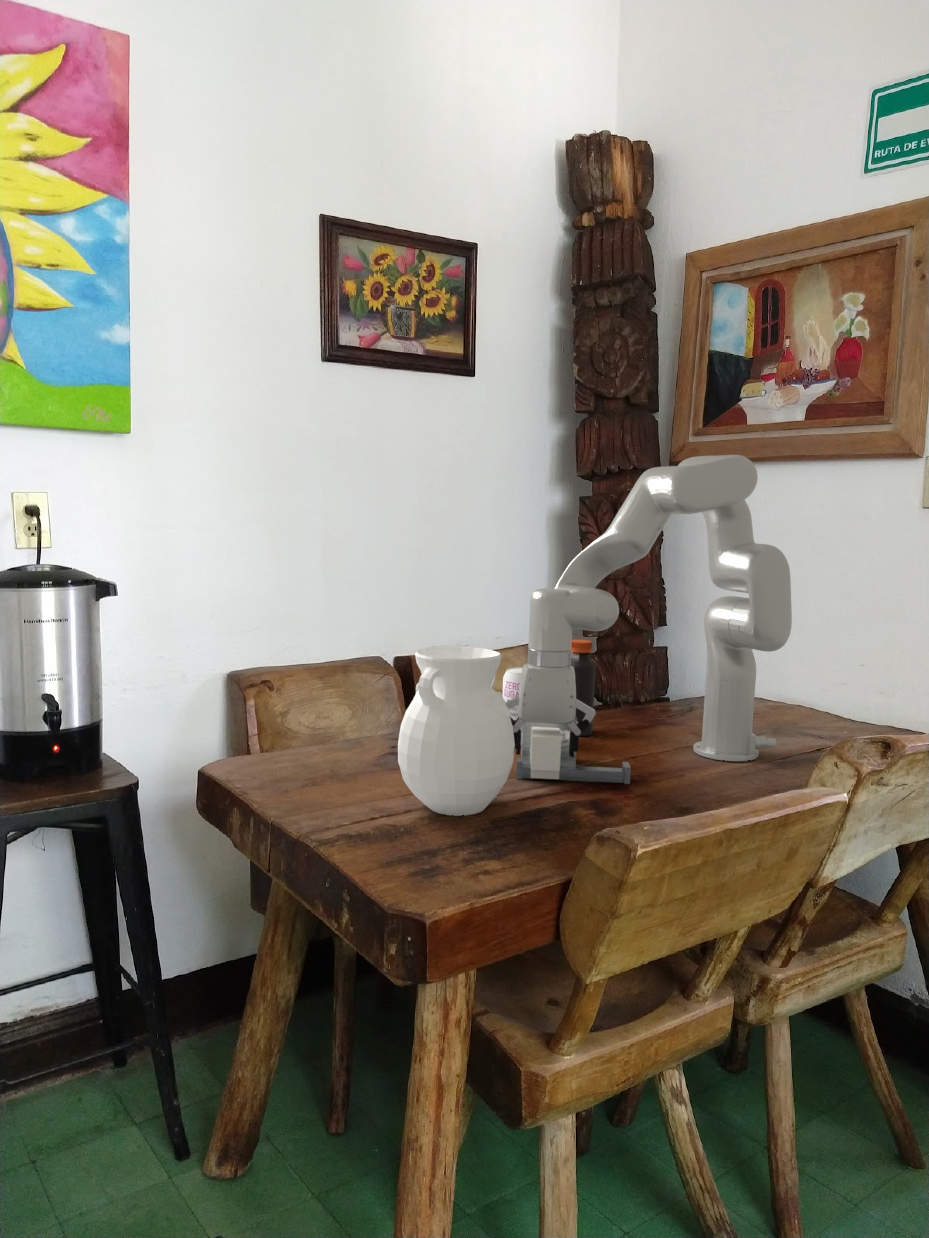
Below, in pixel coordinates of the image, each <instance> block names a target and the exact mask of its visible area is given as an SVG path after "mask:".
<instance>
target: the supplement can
mask: <svg viewBox="0 0 929 1238" xmlns="http://www.w3.org/2000/svg"><path fill="white" fill-rule="evenodd" d="M522 669H523V666H522V667H521V666H517V667H515V666H514V667H508V668H507V669H506V671H505V673H504V675H503V678H502V696H503V699H504V700H505V702H507V701H509V700H511V699H513V698H515V697H517V696H519V687H520V679H521V673H522ZM509 710H510V715H511V716H510V717H511V718H512V719H513V720H514V721H515V720H516V719H517V718H518V717H519V713H518V705H517V706H515V707H513V708H511V709H509ZM520 730H521V747H520V748H522V727H521V728H520Z"/></svg>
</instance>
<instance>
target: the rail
mask: <svg viewBox="0 0 929 1238" xmlns="http://www.w3.org/2000/svg"><path fill="white" fill-rule="evenodd" d="M621 765H622V766H621V767H606V766H605V767H604V766H603V767H602V766H585V765H584V766H583V765H579V766H578V765H576V766H563V765H560V771H559V779H546V781H547V780H551V781H553V780H554V781H571V782H572V781H574V782H575V781H577V782H594V783H612V784H613V783H615V784H616V783H617V784H618V783H619V784H623V785H631V770H632V767H631V765H630V763H629V762H628V761H622V764H621ZM515 766H516V767H515V768H516V769H515V771H516V772H515V779H516V780H523V779H529V780H531V779H533V780H543V779H542V778H531V777H530V776H531V764H523V761H522V757H521V756H520V757H519V756H516V765H515Z"/></svg>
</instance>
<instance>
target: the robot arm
mask: <svg viewBox="0 0 929 1238" xmlns="http://www.w3.org/2000/svg"><path fill="white" fill-rule="evenodd" d="M758 477H759V476H758V471H757V468H756V466H755V464H754V463H753V462H752V461H751V460H750V459H749V458H747V457H746V456H744V455H740V454H723V455H700V456H699V455H698V456H692V457H691V456H690V457H689V458H686V459H684V460H682V461H681V462H679V464H678V465H677V466H676V465H673V466H672V465H671V466H669V465H668V466H657V467H656V466H655V467H651V468H649V469H646V470H645V471H644V472H643V473H642V474H641V475H640V476H639V477H638V479H637V480H636V482H635V484H634V485H633V487H632V489H631V490H630V492H628V495H627V497H626V498H625V500H624V502H623V503H622V504H621V507H620V508H619V510H618V512H617V513H616V514H615V516H614V518H613V520H612V521H611V523H610V525H609V526H608V528H607V529H606V531H604V532H603V534H601V535H599V537H597V538H596V539H595V540H593V541H592V542H591V543H589V544H588V546H586V547H585V548H584V549H583V550H582V551H581V552H579V554H577V555H576V556H575V557H574V558H573V559H572V560H571V562H570V563H569V564H568V565H567V567H566V568H565V570H564V571H563V573H562V575H561V576H560V577H559V579H558V581H557V583H556V585H555V587H553V588H552V587H551V588H545V587H544V588H537V589H534V590H533V592H531V594H530V595H531V596H530V602H529V603H530V604H529V626H528V648H527V663H525V664H523V666H522V667H523V669H522V673H521V679H520V687H519V696H517V697H515V698H513V699H511V700H509V701H507V702H505V703H506V706H507V707H508V709H511V708H513V707H515V706H517V705H518V713H519V717H518V718H517V719H516V720H515V721H514V720H513V719H512V718H511V717H510V719H511V722H512V726H513V733H514V743H515V748H514V750H515V754H516V755H521V748H522V747H521V730H520V728H521V727H522V726H523V725H524V724H525V723H526V722H530V723H549V724H567V725H568V726H569V727H570V729H571V732H570V741H569V755H570V756H571V757H574V752H576V753H577V752H579V739H580V736H579V735H580V733H581V732H582V731H583V730H584V729H586V728H587V727H588V726H589V724H590V722H591V721H592V719H593V720H594V718H595V716H596V714H597V712H596V709H594V707H593V708H591V707H589V706H588V705H586V704H584V703H583V702H581V701H579V700H577V699H576V682H575V671H574V667H573V666H570V665H571V663H572V662H575V661H579V654H575V653H573V652H572V651H571V642H572V640H573V631H574V630H580V631H589V632H600V631H605V630H607V629H609V628H610V627H612V626H613V625H614V624H615V622H616V621H617V620H618V618H619V614H620V607H619V603H618V601H617V599H616V597H615V596H614V595H612V594H611V593H610V592H608V591H606V590H603V589H601V588H596V587H597V586H598V585H599V583H600V582H602V580H604V579H605V578H606V577H607V576H609V575H610V574H612V573H613V572H615V571H617V570H619V569H621V568H623V567H626V566H629V565H630V564H633V563H635V562H637V561H639V560H641V559H643V558H644V557H646V556H647V555H648V553H650V551H651V549H652V547H653V546H654V544H655V543H656V541H657V539H658V537H659V535H660V534H661V533H662V531H663V529H664V527H665V525H666V524H667V522H668V521H669V520H670V517H671V516H672V515H673V514H677V515H692V514H699V513H701V514H702V515H703V518H704V520H705V525H706V535H707V552H708V569H709V577H710V580H711V581H712V583H713V585H714V586H716V587H717V588H719V589H722V590H724V591H725V590H726V591H731V592H737V593H744V594H748V597H744V596H734V595H733V596H731V595H728V596H721V597H719V598H717V599H715V600H713V601H712V602H711V603H710V604H709V605H708V606H707V609H706V611H705V614H704V617H703V618H704V619H703V624H704V625H703V626H704V628H703V629H704V633H705V634H704V635H705V643H706V670H705V671H706V674H705V683H704V684H705V685H704V687H705V688H704V698H703V699H704V701H703V716H702V717H703V718H702V731H701V732H702V734H701V740H700V741H697V742H695V743H694V744H693V752H694V753H695V754H697V755H699V756H701V757H704V758H707V759H712V760H718V761H723V760H724V761H723V762H749V761H748V760H750V761H755V760H756V759H758V758H757V757H759V755H760V753H759V749H760V748H766V749H776V748H777V739H776V737H775V738H773V737H772V738H771V737H770V738H769V737H767V736H763V735H762V736H757V735H756V734H755V733H754V732H753V724H754V723H753V722H754V711H755V710H754V709H755V708H754V707H755V694H756V680H757V679H756V678H757V663H756V659H755V655H754V652H753V650H755V651H761V652H767V653H768V652H775V651H778V650H780V649H782V648H783V647H784V646H785V644H786V643H787V642H788V640H789V638H790V635H791V631H792V622H793V620H792V619H793V618H792V617H793V615H792V613H793V611H792V608H793V607H792V586H791V585H792V583H791V569H790V565H789V562H788V559H787V558H786V557H787V556H786V555H785V554H784V553H783V551H782V550H781V549H779V548H778V547H777V546H774V545H772V544H766V543H756V542H755V539H754V532H753V531H754V529H753V528H754V527H753V520H752V514H751V510H750V508H749V505H748V503H747V501H746V500H747V499H748V498H749V497H750V496H751V495H752V493H754V491H755V489H756V487H757V483H758ZM576 708H578V709H579V710H581V711H583V712H584V713H586V715H585V717H584V719H583V720H581V721H580V722H579V723H578V724H577V723H576V722H575V721H574V720H575V715H576Z"/></svg>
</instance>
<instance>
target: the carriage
mask: <svg viewBox="0 0 929 1238" xmlns="http://www.w3.org/2000/svg"><path fill="white" fill-rule="evenodd" d="M560 755H561V734H560V729H559V728H548V727H532V731H531V756H530V764H531V776H530V777H531V778H542V779H541V780H547V779H559V771H560Z"/></svg>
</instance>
